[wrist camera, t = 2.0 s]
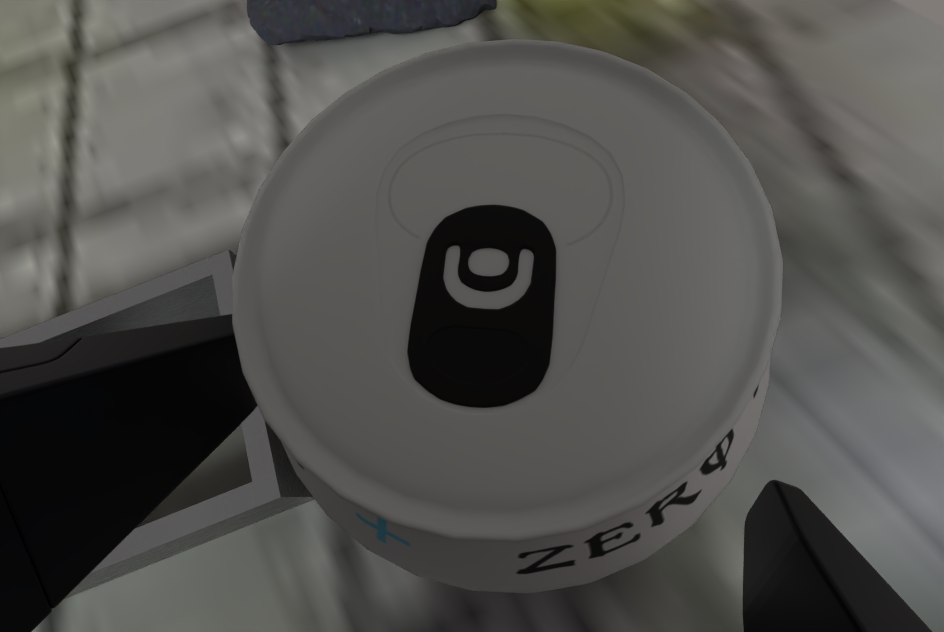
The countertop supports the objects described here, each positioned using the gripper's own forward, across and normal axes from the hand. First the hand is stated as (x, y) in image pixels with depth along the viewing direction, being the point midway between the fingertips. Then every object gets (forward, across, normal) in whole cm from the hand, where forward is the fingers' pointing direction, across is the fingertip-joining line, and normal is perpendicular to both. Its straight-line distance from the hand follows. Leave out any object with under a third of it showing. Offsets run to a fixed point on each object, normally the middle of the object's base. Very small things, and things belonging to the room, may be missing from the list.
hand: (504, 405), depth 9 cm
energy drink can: (+7, 0, +7) cm, 10 cm away
